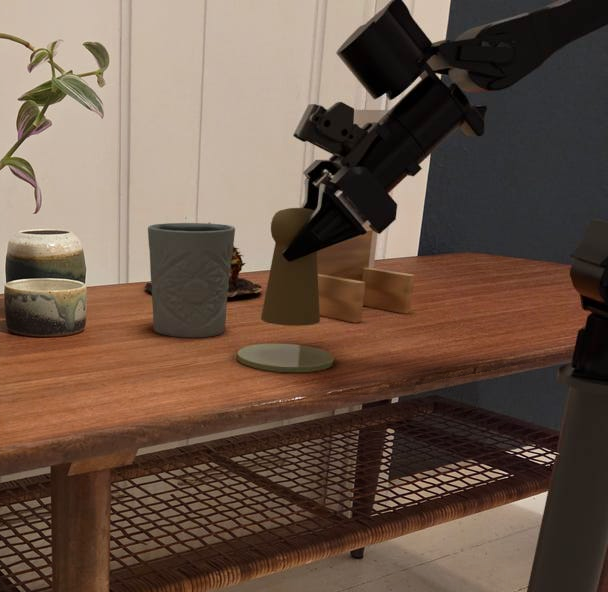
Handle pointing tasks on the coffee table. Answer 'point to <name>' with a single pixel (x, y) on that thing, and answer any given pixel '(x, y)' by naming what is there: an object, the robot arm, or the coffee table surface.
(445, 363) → the coffee table surface
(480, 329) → the coffee table surface
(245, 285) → the cactus
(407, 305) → the rack
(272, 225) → the olive tapered shaker
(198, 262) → the grey embossed cup
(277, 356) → the coaster
